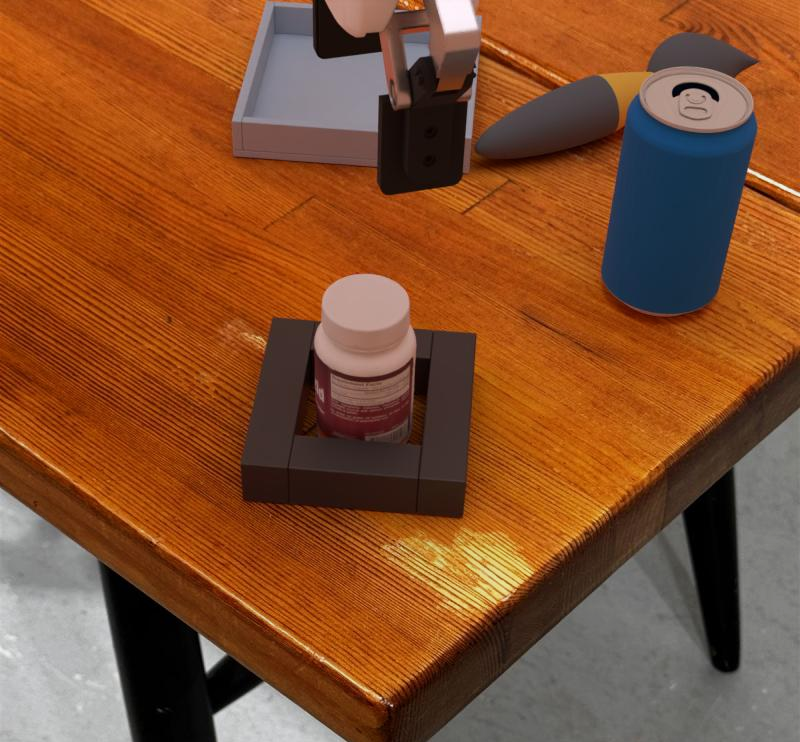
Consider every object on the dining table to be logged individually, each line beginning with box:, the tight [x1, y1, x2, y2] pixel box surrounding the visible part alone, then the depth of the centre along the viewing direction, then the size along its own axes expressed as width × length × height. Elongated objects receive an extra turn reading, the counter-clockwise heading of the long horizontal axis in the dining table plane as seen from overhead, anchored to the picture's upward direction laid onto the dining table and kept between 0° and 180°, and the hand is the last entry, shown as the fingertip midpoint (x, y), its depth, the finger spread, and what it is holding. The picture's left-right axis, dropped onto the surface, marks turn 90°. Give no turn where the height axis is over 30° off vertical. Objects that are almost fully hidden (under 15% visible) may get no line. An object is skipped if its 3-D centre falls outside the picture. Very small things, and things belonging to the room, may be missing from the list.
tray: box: [231, 0, 483, 175], centre depth 91 cm, size 14×14×2 cm
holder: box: [239, 316, 478, 519], centre depth 71 cm, size 10×10×2 cm
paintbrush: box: [473, 31, 761, 160], centre depth 89 cm, size 20×5×5 cm, turn 122°
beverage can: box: [600, 67, 758, 318], centre depth 76 cm, size 6×6×12 cm
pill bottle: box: [314, 273, 416, 444], centre depth 69 cm, size 5×5×8 cm
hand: (383, 115), depth 58 cm, fingers open, 9 cm apart
